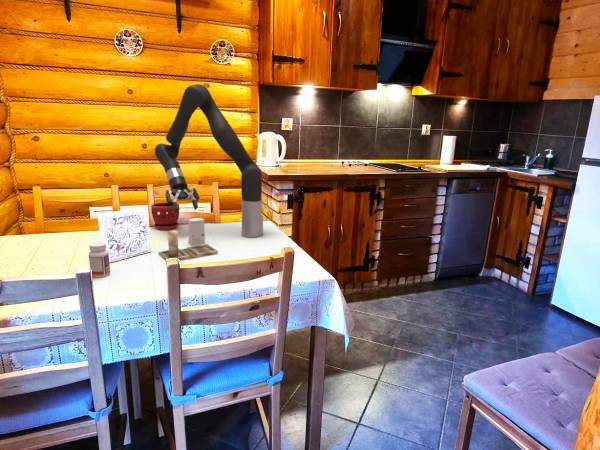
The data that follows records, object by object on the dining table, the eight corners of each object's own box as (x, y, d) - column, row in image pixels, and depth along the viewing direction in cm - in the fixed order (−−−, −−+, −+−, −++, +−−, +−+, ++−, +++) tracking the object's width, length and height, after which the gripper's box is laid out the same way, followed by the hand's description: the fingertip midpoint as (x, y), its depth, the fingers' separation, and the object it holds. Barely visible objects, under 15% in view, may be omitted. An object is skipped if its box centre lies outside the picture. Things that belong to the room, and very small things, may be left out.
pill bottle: (106, 270, 147) (103, 240, 144) (113, 275, 143) (110, 244, 140) (87, 274, 142) (84, 243, 139) (95, 279, 138) (91, 247, 135)
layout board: (205, 247, 175) (205, 243, 174) (219, 256, 165) (219, 251, 164) (157, 256, 163) (157, 250, 162) (168, 266, 153) (168, 260, 152)
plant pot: (185, 227, 205) (184, 203, 202) (164, 232, 194) (163, 208, 191) (168, 222, 211) (167, 200, 208) (146, 228, 201) (145, 204, 198)
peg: (176, 254, 162) (175, 229, 160) (179, 256, 160) (178, 232, 157) (167, 255, 160) (166, 231, 158) (170, 258, 157) (169, 233, 155)
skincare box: (191, 248, 173) (190, 221, 170) (188, 245, 177) (187, 218, 173) (205, 246, 176) (204, 219, 173) (201, 243, 180) (201, 217, 177)
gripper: (162, 176, 179) (173, 206, 173) (193, 174, 188) (204, 203, 182) (159, 186, 185) (169, 216, 179) (189, 184, 193) (199, 212, 187)
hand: (187, 209), depth 180 cm, fingers open, 8 cm apart
